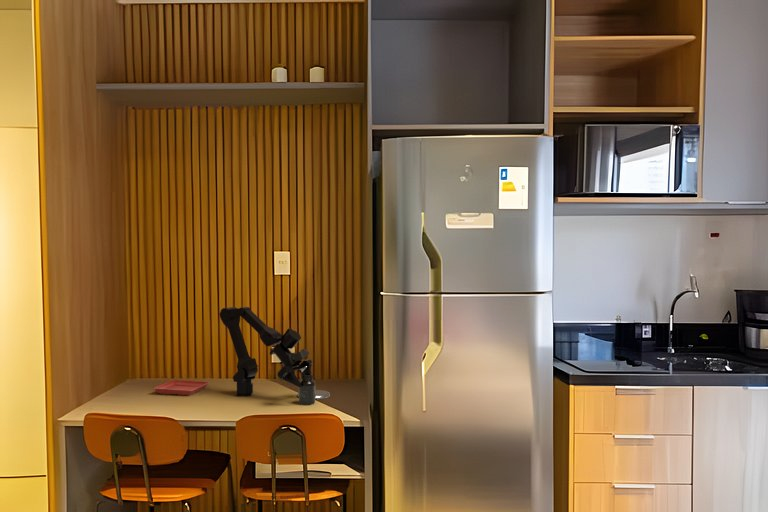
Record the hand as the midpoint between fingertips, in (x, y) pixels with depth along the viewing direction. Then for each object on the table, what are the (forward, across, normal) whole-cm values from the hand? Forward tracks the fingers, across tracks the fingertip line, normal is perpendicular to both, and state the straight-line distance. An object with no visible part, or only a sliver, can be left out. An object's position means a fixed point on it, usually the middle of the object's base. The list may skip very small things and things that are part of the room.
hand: (307, 384), depth 269 cm
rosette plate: (+2, +12, +9) cm, 15 cm away
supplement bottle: (+6, 0, +6) cm, 8 cm away
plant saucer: (-38, -8, +49) cm, 63 cm away
